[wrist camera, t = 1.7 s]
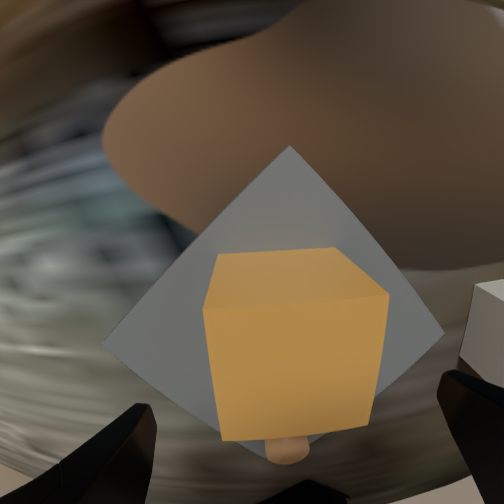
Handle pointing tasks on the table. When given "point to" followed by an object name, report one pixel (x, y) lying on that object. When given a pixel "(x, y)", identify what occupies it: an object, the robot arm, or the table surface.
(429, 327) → the plate
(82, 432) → the table surface
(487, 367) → the matte ivory cube
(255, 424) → the matte amber box
